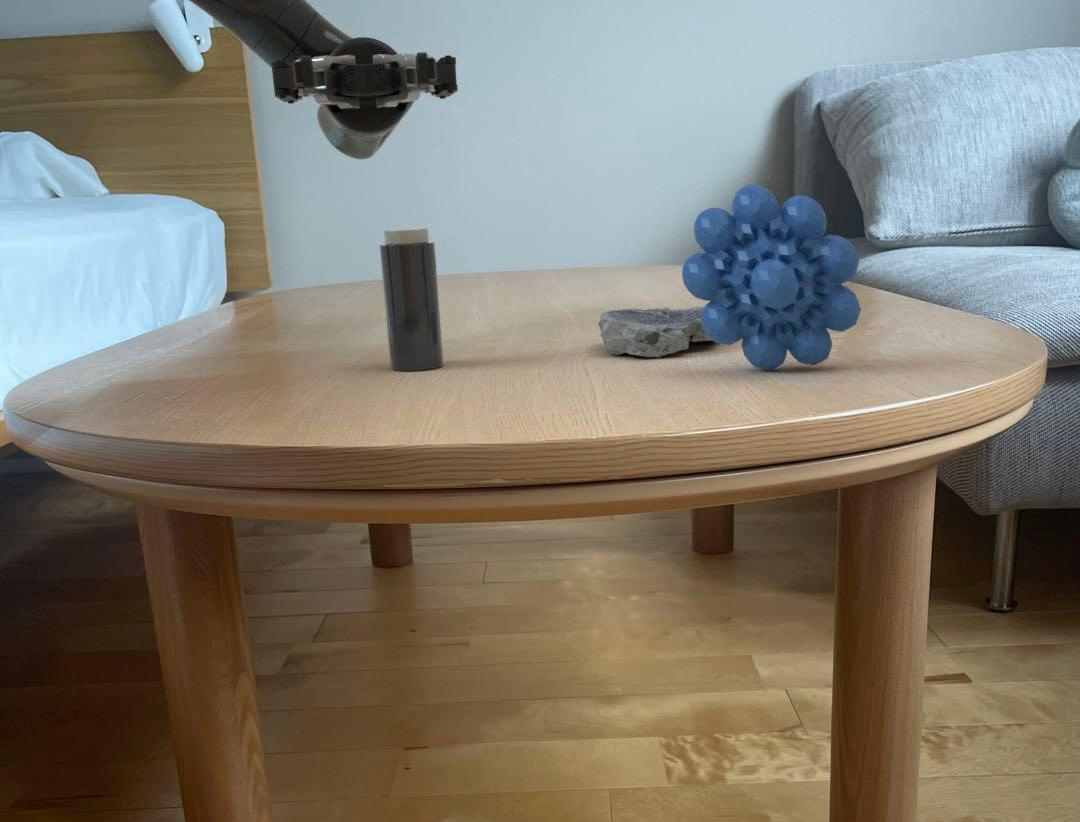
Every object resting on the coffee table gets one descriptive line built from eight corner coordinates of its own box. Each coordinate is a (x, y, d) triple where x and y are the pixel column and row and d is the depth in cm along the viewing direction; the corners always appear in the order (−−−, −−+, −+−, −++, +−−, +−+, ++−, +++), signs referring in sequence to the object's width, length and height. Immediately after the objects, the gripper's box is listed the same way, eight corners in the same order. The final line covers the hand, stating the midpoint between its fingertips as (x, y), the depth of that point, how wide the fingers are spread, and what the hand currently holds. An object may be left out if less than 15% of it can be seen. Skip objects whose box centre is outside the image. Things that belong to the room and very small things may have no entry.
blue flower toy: (681, 384, 68) (680, 189, 64) (682, 365, 74) (682, 187, 70) (867, 380, 66) (878, 179, 62) (852, 361, 72) (861, 178, 68)
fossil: (684, 321, 74) (569, 289, 79) (671, 377, 76) (559, 342, 81) (749, 317, 84) (642, 288, 88) (736, 366, 85) (632, 336, 90)
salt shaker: (391, 372, 77) (378, 231, 74) (390, 364, 81) (377, 229, 78) (445, 368, 78) (435, 228, 74) (441, 360, 81) (431, 226, 78)
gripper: (278, 46, 90) (260, 15, 75) (443, 42, 92) (458, 11, 77) (289, 139, 92) (273, 127, 77) (449, 133, 94) (465, 120, 79)
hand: (365, 69), depth 77 cm, fingers open, 8 cm apart
